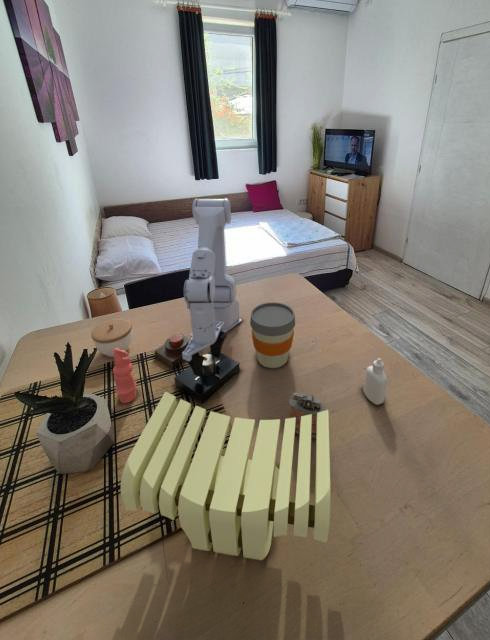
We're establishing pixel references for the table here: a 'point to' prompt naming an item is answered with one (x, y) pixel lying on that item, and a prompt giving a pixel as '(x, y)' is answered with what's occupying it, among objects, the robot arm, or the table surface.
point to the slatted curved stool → (228, 478)
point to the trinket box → (112, 336)
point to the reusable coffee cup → (272, 333)
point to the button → (176, 340)
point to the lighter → (305, 410)
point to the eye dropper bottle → (375, 382)
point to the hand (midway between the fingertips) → (207, 365)
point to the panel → (207, 379)
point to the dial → (208, 365)
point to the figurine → (123, 376)
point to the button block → (172, 352)
